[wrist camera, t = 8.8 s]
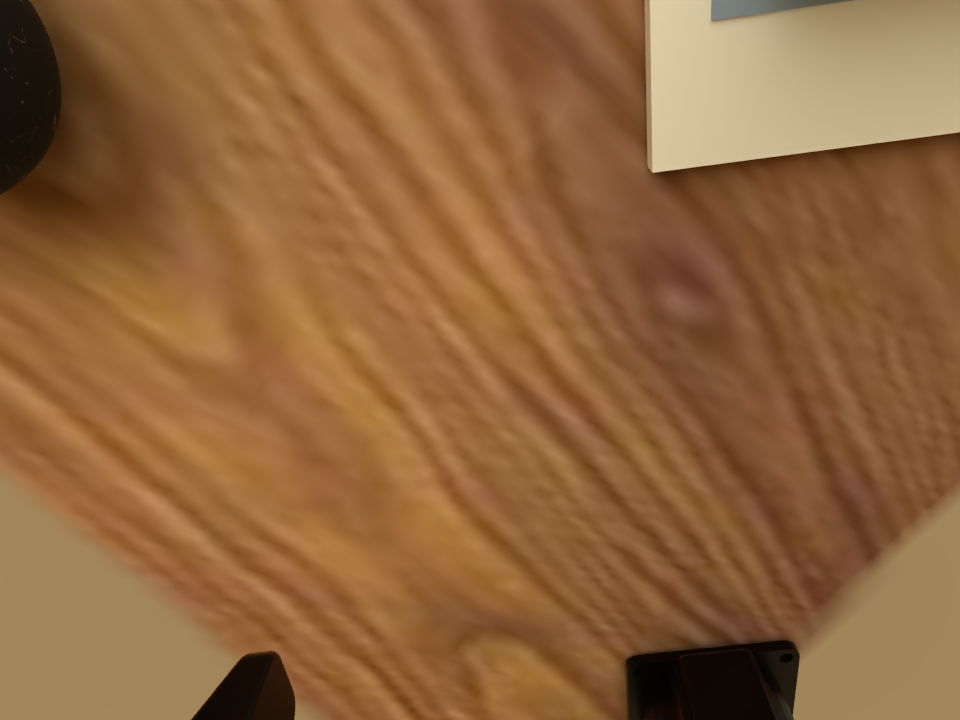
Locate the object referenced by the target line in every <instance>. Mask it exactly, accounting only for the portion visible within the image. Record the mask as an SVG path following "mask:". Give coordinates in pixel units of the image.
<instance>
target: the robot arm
mask: <svg viewBox="0 0 960 720" xmlns="http://www.w3.org/2000/svg"><path fill="white" fill-rule="evenodd" d="M799 659H800V656H799V652H798V650H797V648H796V646H795V644H794V643H793V642H790V641H774V642H764V643H755V644H745V645H735V646H725V647H715V648H705V649H695V650H685V651H675V652H665V653H655V654H645V655H637V656H633V657H631V658H629V659H628V660H627V661H626V664H625V671H626V691H627V712H628V720H794V718H793V708H794V699H795V690H796V683H797V675H798V667H799ZM294 717H295V696H294V692H293V689H292V686H291V683H290V681H289V678H288V676H287V673H286V671H285V668H284V665H283V663H282V660H281V658H280V656H279V655H278V654H277V653H276V652H274V651H268V652H258V653H250V654H247V655H245V656H243V657H242V658H241V659H240V660H239V661H238V662H237V663H236V665H235V666H234V667H233V668H232V670H231V671H230V672H229V673H228V675H227V676H226V677H225V678H224V680H223V681H222V682H221V683H220V685H219V686H218V687H217V688H216V690H215V691H214V692H213V693H212V694H211V696H210V697H209V698H208V700H207V701H206V702H205V703H204V704H203V706H202V707H201V708H200V709H199V710H198V712H197V713H196V714H195V715H194V717H193V718H192V719H191V720H294Z"/></svg>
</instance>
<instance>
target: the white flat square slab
mask: <svg viewBox="0 0 960 720" xmlns="http://www.w3.org/2000/svg"><path fill="white" fill-rule="evenodd" d="M644 1H645V56H646V110H647V165H648V168H649V169H650V170H651V171H652V173H654V172H662V171H670V170H677V169H685V168H692V167H700V166H708V165H715V164H723V163H730V162H738V161H746V160H753V159H761V158H768V157H776V156H784V155H791V154H799V153H806V152H814V151H822V150H829V149H837V148H844V147H852V146H860V145H867V144H875V143H882V142H890V141H898V140H905V139H913V138H920V137H928V136H936V135H943V134H951V133H958V132H960V0H644Z"/></svg>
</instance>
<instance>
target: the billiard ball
mask: <svg viewBox="0 0 960 720" xmlns="http://www.w3.org/2000/svg"><path fill="white" fill-rule="evenodd" d="M60 105H61V87H60V77H59V71H58V65H57V61H56V57H55V53H54V50H53V47H52V44H51V41H50V39H49V36H48V34H47V32H46V29H45V27H44V25H43V23H42V21H41V19H40V17H39V16H38V14H37V12H36V10H35V8H34V7H33V5H32V4H31V2H30V1H29V0H0V194H2V193H4V192H6V191H7V190H9V189H10V188H12V187H13V186H15V185H16V184H17V183H19V182H20V181H21V180H23V179H24V178H25V177H26V176H27V175H28V174H29V173H30V172H31V171H32V170H33V169H34V168H35V167H36V166H37V165H38V163H39V162H40V161H41V159H42V158H43V156H44V155H45V154H46V152H47V150H48V148H49V146H50V144H51V142H52V140H53V137H54V134H55V132H56V129H57V124H58V120H59V113H60Z"/></svg>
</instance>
